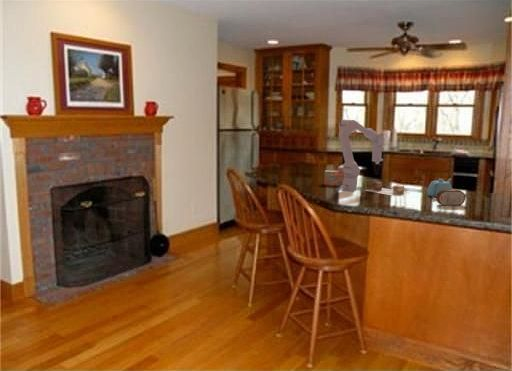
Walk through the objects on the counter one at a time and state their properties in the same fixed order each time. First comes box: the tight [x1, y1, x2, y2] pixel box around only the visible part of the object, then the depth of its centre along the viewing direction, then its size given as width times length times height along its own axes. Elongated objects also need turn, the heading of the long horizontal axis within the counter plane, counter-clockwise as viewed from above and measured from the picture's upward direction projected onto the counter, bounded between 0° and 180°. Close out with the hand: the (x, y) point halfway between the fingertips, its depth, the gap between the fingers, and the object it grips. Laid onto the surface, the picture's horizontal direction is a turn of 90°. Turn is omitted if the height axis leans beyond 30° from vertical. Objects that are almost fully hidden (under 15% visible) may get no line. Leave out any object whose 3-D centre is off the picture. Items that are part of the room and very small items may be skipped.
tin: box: [435, 189, 467, 207], centre depth 235 cm, size 15×3×8 cm, turn 92°
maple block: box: [392, 184, 405, 196], centre depth 263 cm, size 4×4×4 cm
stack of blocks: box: [324, 165, 359, 186], centre depth 294 cm, size 21×6×12 cm, turn 83°
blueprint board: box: [364, 187, 410, 197], centre depth 269 cm, size 22×16×1 cm
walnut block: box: [370, 181, 383, 191], centre depth 275 cm, size 4×4×4 cm
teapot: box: [427, 178, 453, 198], centre depth 257 cm, size 13×11×18 cm
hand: (376, 173), depth 282 cm, fingers open, 7 cm apart
